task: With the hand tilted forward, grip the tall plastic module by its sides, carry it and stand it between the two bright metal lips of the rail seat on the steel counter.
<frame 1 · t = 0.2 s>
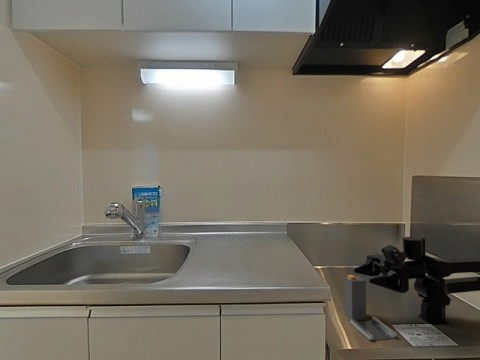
hand: (361, 275, 103), 16 cm above the counter, tool horizontal, fingers open, 9 cm apart
module: (355, 316, 110), on the counter
rail seat: (372, 330, 100), on the counter
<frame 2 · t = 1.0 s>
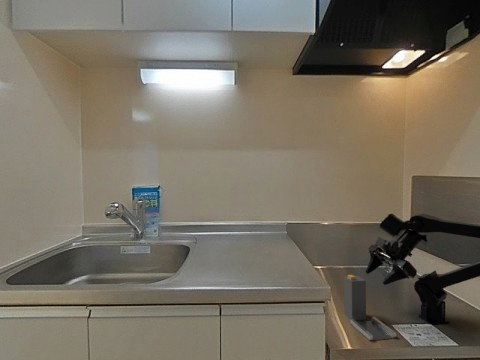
hand: (374, 278, 110), 13 cm above the counter, tool tilted 45°, fingers open, 9 cm apart
nothing on the counter moved.
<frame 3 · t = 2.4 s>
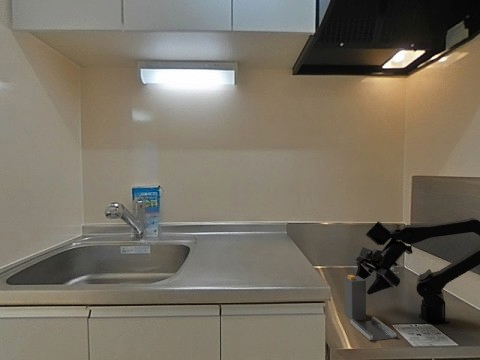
hand: (360, 288, 110), 9 cm above the counter, tool tilted 45°, fingers open, 9 cm apart
nothing on the counter moved.
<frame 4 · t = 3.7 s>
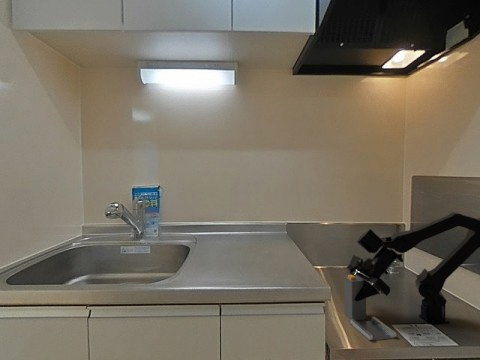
hand: (351, 297, 109), 7 cm above the counter, tool tilted 45°, fingers closed on module, 5 cm apart
module: (355, 316, 110), on the counter, touching gripper
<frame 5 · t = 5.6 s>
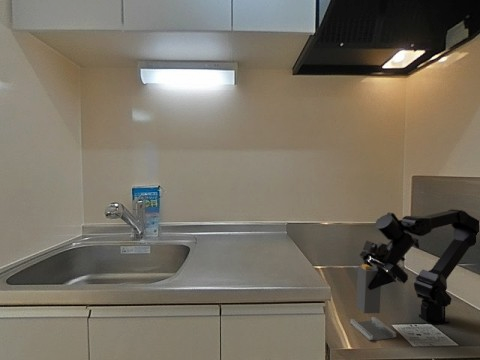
hand: (364, 285, 101), 13 cm above the counter, tool tilted 45°, fingers closed on module, 5 cm apart
module: (367, 309, 101), point 6 cm above the counter, touching gripper
when the fingers open (8 cm above the counter, at t = 7.3 s): module stays where it is, resting on rail seat.
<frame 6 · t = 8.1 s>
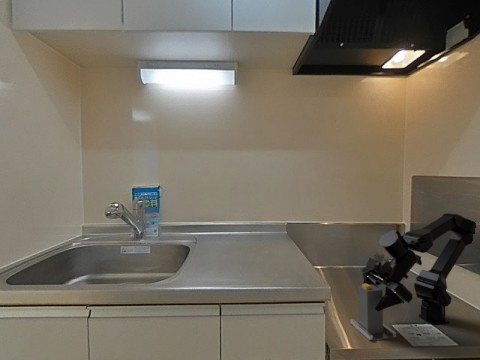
hand: (367, 304, 99), 8 cm above the counter, tool tilted 45°, fingers open, 9 cm apart
module: (370, 329, 100), resting on rail seat
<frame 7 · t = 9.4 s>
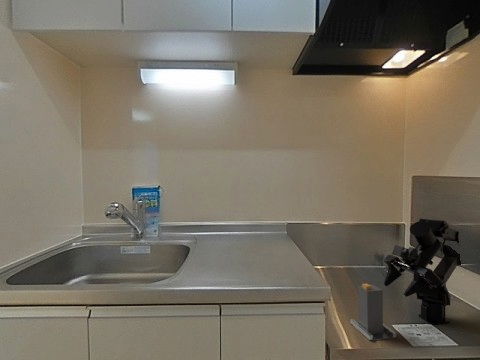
hand: (394, 290, 102), 12 cm above the counter, tool tilted 45°, fingers open, 9 cm apart
nothing on the counter moved.
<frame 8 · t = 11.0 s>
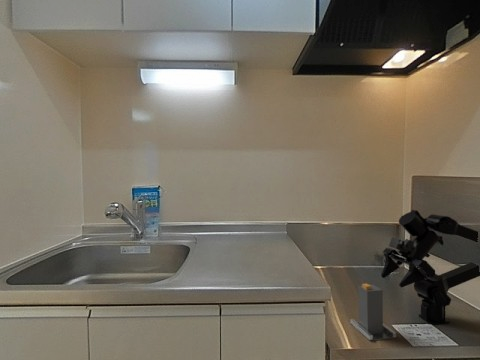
hand: (390, 281, 104), 14 cm above the counter, tool tilted 45°, fingers open, 9 cm apart
nothing on the counter moved.
at the end: module inside the target area on the rail seat (0.5 cm from its centre), point 0.3 cm above the rail seat's base; module tilted 0°; the gripper is holding nothing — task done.
